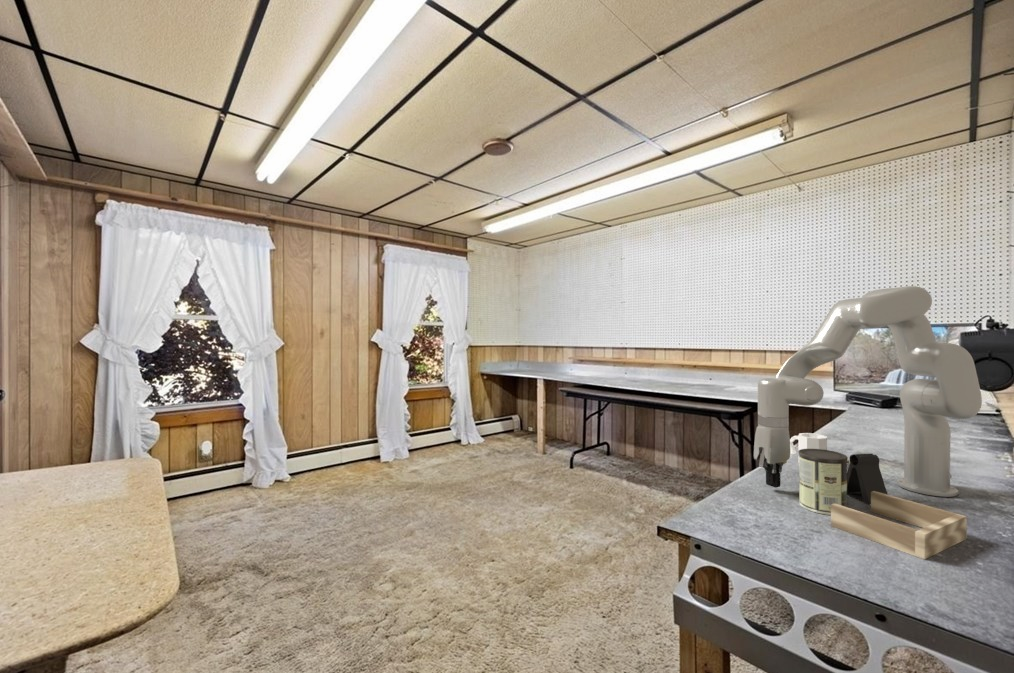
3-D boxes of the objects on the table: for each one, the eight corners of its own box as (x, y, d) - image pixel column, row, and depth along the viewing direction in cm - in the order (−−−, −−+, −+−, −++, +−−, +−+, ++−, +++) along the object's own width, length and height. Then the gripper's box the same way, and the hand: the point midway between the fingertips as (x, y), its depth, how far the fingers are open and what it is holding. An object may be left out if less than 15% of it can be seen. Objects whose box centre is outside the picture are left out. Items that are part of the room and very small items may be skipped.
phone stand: (890, 504, 115) (890, 458, 115) (869, 505, 114) (869, 459, 114) (859, 491, 124) (859, 449, 124) (840, 492, 123) (840, 450, 123)
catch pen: (874, 510, 111) (874, 490, 111) (966, 538, 95) (966, 516, 95) (830, 525, 103) (830, 504, 102) (924, 559, 87) (924, 534, 87)
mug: (832, 465, 148) (832, 436, 147) (820, 469, 143) (820, 440, 143) (793, 456, 158) (793, 429, 158) (781, 460, 153) (781, 432, 153)
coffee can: (822, 498, 119) (822, 447, 119) (858, 514, 109) (858, 458, 109) (788, 501, 117) (788, 449, 117) (822, 517, 107) (822, 460, 107)
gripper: (776, 417, 131) (776, 477, 131) (743, 422, 125) (743, 485, 125) (802, 421, 124) (802, 485, 124) (769, 427, 118) (769, 494, 118)
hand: (773, 485), depth 125 cm, fingers closed
